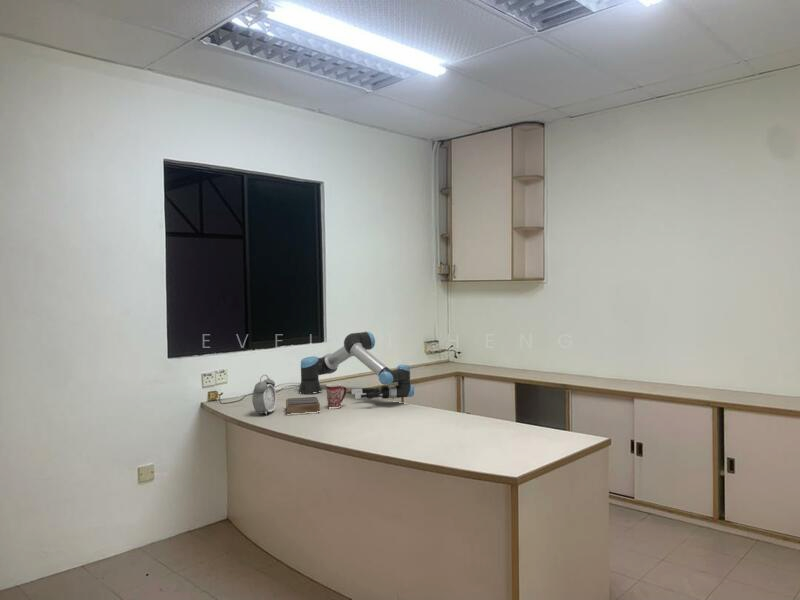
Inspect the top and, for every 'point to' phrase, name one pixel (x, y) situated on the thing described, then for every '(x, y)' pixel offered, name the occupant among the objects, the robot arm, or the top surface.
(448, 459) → the top surface
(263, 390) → the alarm clock
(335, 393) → the mug
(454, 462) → the top surface
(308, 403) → the walnut stand
